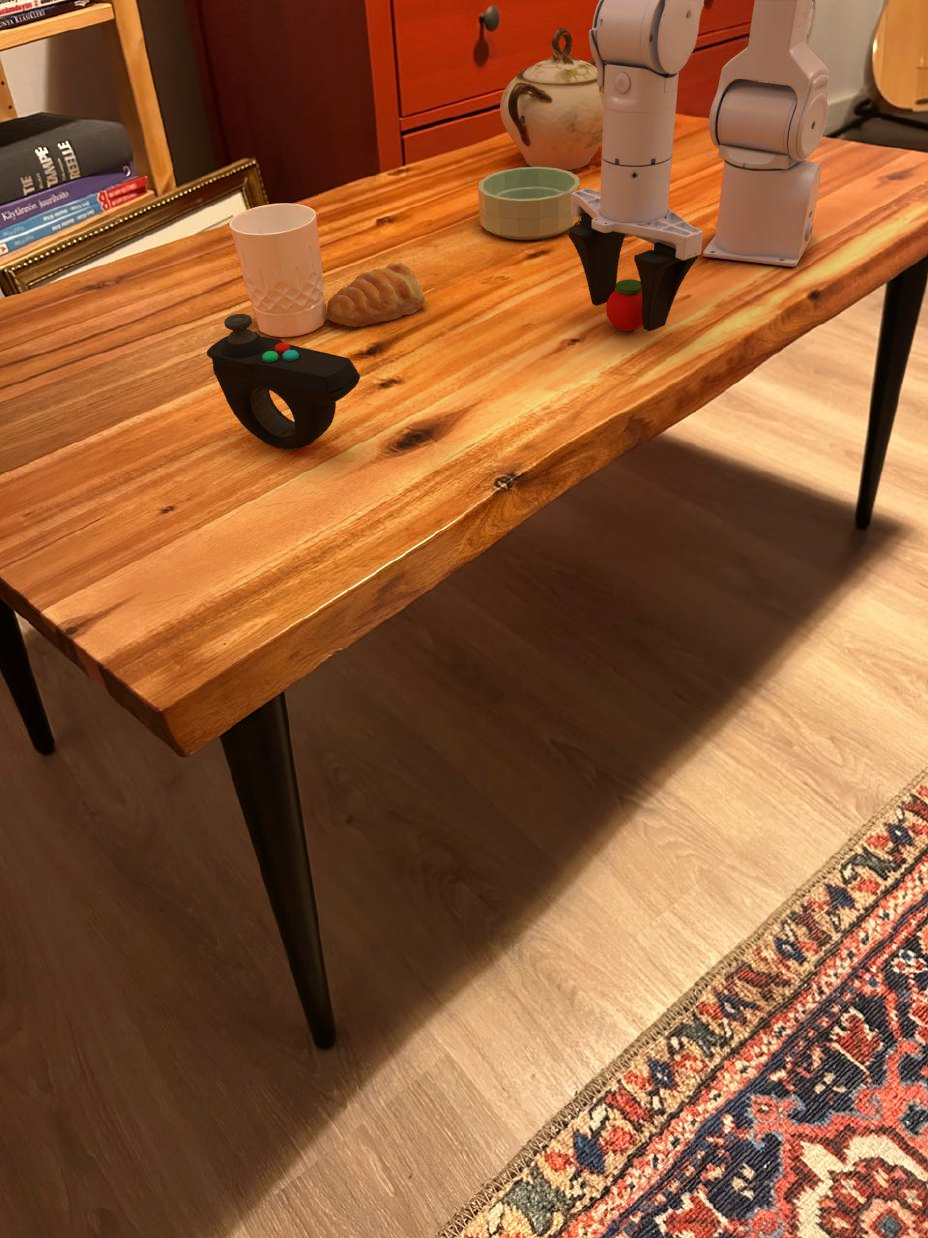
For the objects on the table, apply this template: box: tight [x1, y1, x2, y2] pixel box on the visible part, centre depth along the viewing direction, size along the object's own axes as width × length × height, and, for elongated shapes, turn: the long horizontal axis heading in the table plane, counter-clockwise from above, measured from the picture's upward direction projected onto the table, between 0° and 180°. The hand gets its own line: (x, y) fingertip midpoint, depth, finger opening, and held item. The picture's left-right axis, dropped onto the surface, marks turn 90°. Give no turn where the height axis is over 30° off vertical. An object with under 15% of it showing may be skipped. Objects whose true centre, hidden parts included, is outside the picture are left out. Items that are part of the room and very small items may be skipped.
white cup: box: [228, 202, 328, 338], centre depth 91 cm, size 8×8×10 cm
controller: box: [206, 313, 361, 451], centre depth 74 cm, size 4×12×10 cm, turn 62°
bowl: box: [477, 166, 581, 241], centre depth 109 cm, size 11×11×4 cm
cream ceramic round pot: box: [499, 27, 604, 171], centre depth 122 cm, size 20×15×15 cm
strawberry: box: [605, 278, 643, 332], centre depth 88 cm, size 4×4×4 cm
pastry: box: [326, 262, 425, 329], centre depth 94 cm, size 9×7×4 cm
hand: (627, 314), depth 88 cm, fingers open, 6 cm apart
